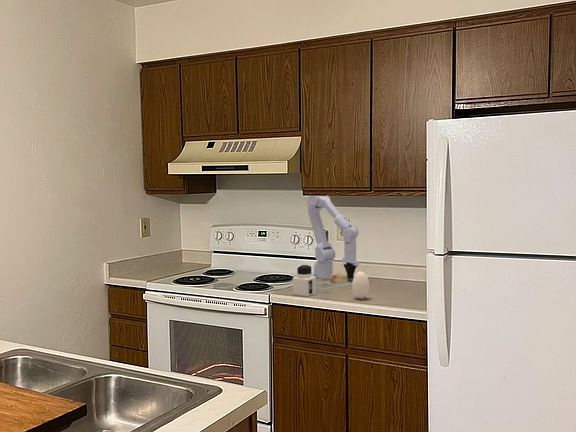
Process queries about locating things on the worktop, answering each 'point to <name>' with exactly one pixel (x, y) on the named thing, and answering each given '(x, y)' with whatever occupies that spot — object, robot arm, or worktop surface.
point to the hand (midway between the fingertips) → (350, 278)
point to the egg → (360, 285)
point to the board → (334, 284)
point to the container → (304, 281)
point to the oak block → (338, 278)
